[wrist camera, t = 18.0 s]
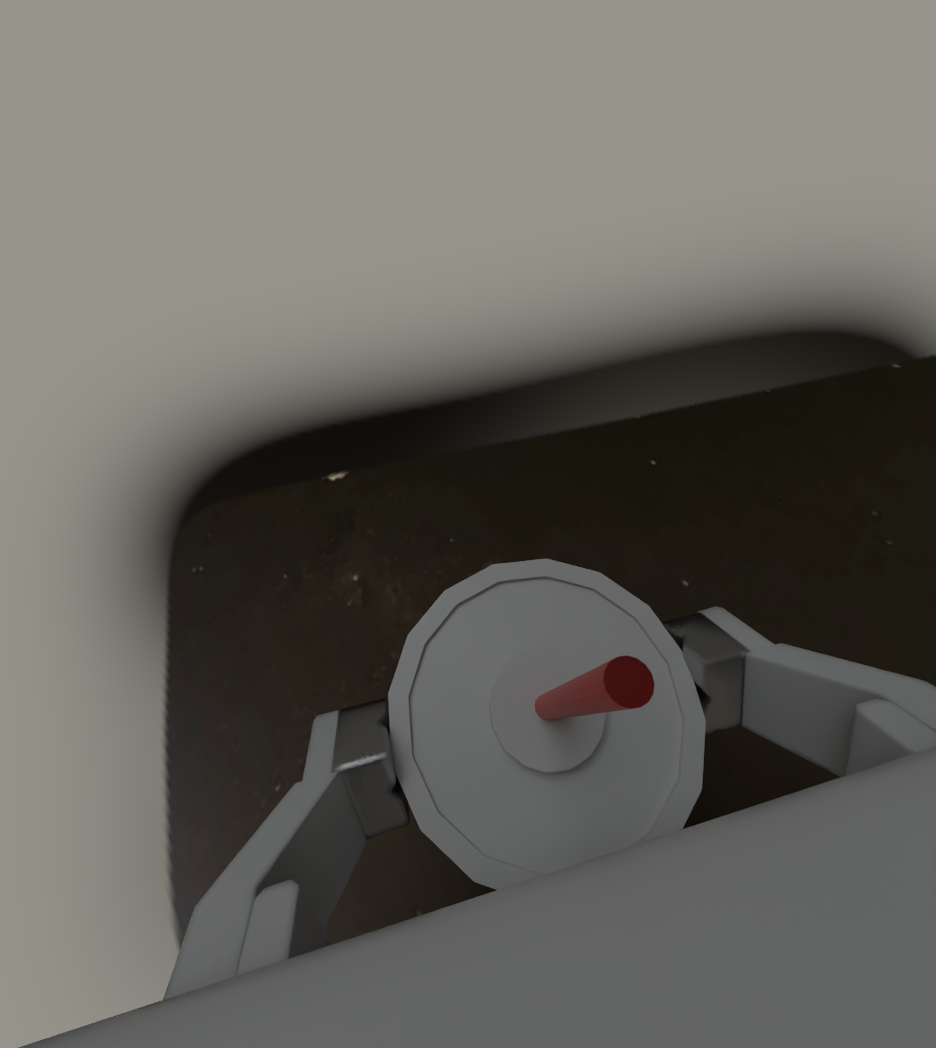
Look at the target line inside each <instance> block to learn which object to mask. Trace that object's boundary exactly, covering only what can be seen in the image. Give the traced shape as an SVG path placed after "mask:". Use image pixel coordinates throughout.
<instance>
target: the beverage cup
mask: <svg viewBox="0 0 936 1048" xmlns="http://www.w3.org/2000/svg"><path fill="white" fill-rule="evenodd" d="M388 702H389V725H390V740H391V745H392V751H393V757H394V762H395V772H396V775H397V777H398V780H399V782H400V784H401V786H402V789H403V791H404V793H405V796H406V798H407V800H408V802H409V805H410V807H411V809H412V812H413V814H414V816H415V818H416V821H417V823H418V825H419V828H420V830H421V831H422V832H423V833H424V834H425V835H426V836H427V837H428V838H429V839H430V840H431V841H433V842H434V843H435V844H436V845H437V846H438V847H439V848H440V849H441V850H442V851H443V852H444V853H445V854H446V855H447V856H448V857H449V858H450V859H451V860H452V861H453V862H454V863H455V864H456V865H457V866H458V867H459V868H460V869H462V870H463V871H464V872H465V873H466V874H467V875H468V876H469V877H470V878H471V879H472V880H473V881H474V882H476V883H479V884H482V885H485V886H488V887H491V888H493V889H496V890H499V889H503V888H506V887H509V886H512V885H515V884H518V883H521V882H524V881H527V880H530V879H533V878H536V877H539V876H542V875H545V874H548V873H551V872H554V871H557V870H561V869H564V868H567V867H570V866H573V865H576V864H579V863H582V862H585V861H588V860H591V859H594V858H597V857H600V856H603V855H606V854H609V853H612V852H615V851H618V850H621V849H624V848H627V847H630V846H633V845H637V844H640V843H643V842H646V841H649V840H652V839H655V838H658V837H661V836H664V835H667V834H670V833H673V832H676V831H679V830H682V829H683V827H684V825H685V823H686V821H687V819H688V817H689V815H690V813H691V811H692V809H693V807H694V805H695V803H696V801H697V799H698V797H699V795H700V793H701V791H702V778H703V761H704V744H705V727H706V719H705V716H704V713H703V710H702V706H701V703H700V700H699V697H698V693H697V690H696V687H695V684H694V681H693V678H692V676H691V674H690V672H689V669H688V667H687V665H686V662H685V660H684V658H683V652H682V650H681V649H680V648H679V646H678V645H677V644H676V642H675V641H674V640H673V638H672V637H671V635H670V634H669V633H668V631H667V630H666V629H665V627H664V626H663V625H662V623H661V622H660V621H659V619H658V618H657V616H656V615H655V614H654V612H653V611H652V610H651V608H650V607H649V606H648V605H647V604H645V603H644V602H642V601H641V600H639V599H638V598H636V597H635V596H634V595H632V594H631V593H629V592H628V591H626V590H625V589H623V588H622V587H620V586H619V585H618V584H616V583H615V582H613V581H612V580H610V579H609V578H607V577H606V576H604V575H603V574H601V573H600V572H596V571H592V570H588V569H584V568H581V567H577V566H573V565H569V564H565V563H561V562H557V561H554V560H550V559H538V560H530V561H521V562H512V563H503V564H494V565H491V566H489V567H487V568H486V569H484V570H482V571H480V572H478V573H476V574H475V575H473V576H471V577H469V578H467V579H465V580H463V581H462V582H460V583H458V584H456V585H454V586H452V587H450V588H449V589H447V590H445V591H444V592H443V593H442V594H441V596H440V597H439V598H438V599H437V600H436V602H435V603H434V604H433V605H432V606H431V608H430V609H429V610H428V611H427V612H426V614H425V615H424V616H423V617H422V618H421V620H420V621H419V622H418V623H417V624H416V626H415V627H414V628H413V629H412V631H411V632H410V633H409V634H408V636H407V639H406V642H405V645H404V648H403V651H402V654H401V657H400V660H399V663H398V666H397V669H396V672H395V675H394V678H393V681H392V684H391V687H390V690H389V693H388Z"/></svg>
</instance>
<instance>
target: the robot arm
mask: <svg viewBox="0 0 936 1048" xmlns="http://www.w3.org/2000/svg"><path fill="white" fill-rule="evenodd" d="M662 625H663V626H664V627H665V629H666V630H667V631H668V633H669V634H670V635H671V637H672V638H673V640H674V641H675V642H676V644H677V645H678V646H679V648H680V649H681V650H682V652H683V658H684V660H685V662H686V665H687V667H688V669H689V672H690V674H691V676H692V678H693V681H694V684H695V687H696V690H697V693H698V697H699V700H700V703H701V706H702V710H703V713H704V716H705V719H706V727H705V734H708V733H711V732H715V731H719V730H722V729H726V728H730V727H733V726H737V725H741V724H742V727H744V728H746V729H748V730H750V731H752V732H754V733H756V734H758V735H760V736H762V737H764V738H766V739H768V740H770V741H771V742H773V743H775V744H777V745H779V746H781V747H783V748H785V749H787V750H789V751H791V752H793V753H795V754H797V755H799V756H801V757H803V758H805V759H807V760H809V761H811V762H812V763H814V764H816V765H818V766H820V767H822V768H824V769H826V770H828V771H830V772H832V773H834V774H836V775H838V776H840V778H837V779H834V780H831V781H828V782H825V783H822V784H819V785H816V786H813V787H810V788H807V789H804V790H801V791H798V792H795V793H792V794H788V795H785V796H782V797H779V798H776V799H773V800H770V801H767V802H764V803H761V804H758V805H755V806H752V807H749V808H746V809H743V810H740V811H737V812H734V813H731V814H728V815H725V816H722V817H719V818H715V819H712V820H709V821H706V822H703V823H700V824H697V825H694V826H691V827H688V828H685V829H682V830H679V831H676V832H673V833H670V834H667V835H664V836H661V837H658V838H655V839H652V840H649V841H646V842H643V843H640V844H637V845H633V846H630V847H627V848H624V849H621V850H618V851H615V852H612V853H609V854H606V855H603V856H600V857H597V858H594V859H591V860H588V861H585V862H582V863H579V864H576V865H573V866H570V867H567V868H564V869H561V870H557V871H554V872H551V873H548V874H545V875H542V876H539V877H536V878H533V879H530V880H527V881H524V882H521V883H518V884H515V885H512V886H509V887H506V888H503V889H499V890H496V891H493V892H490V893H487V894H484V895H481V896H478V897H475V898H472V899H469V900H466V901H463V902H460V903H457V904H454V905H451V906H448V907H445V908H442V909H438V910H435V911H432V912H429V913H426V914H423V915H420V916H417V917H414V918H411V919H408V920H405V921H402V922H399V923H396V924H393V925H390V926H387V927H384V928H381V929H378V930H375V931H372V932H369V933H366V934H362V935H359V936H356V937H353V938H350V939H347V940H344V941H341V942H338V943H335V944H332V945H329V946H328V944H327V942H326V940H325V938H324V936H323V933H324V931H325V929H326V927H327V925H328V923H329V921H330V918H331V916H332V914H333V912H334V910H335V908H336V906H337V904H338V902H339V900H340V897H341V895H342V893H343V891H344V889H345V887H346V885H347V883H348V881H349V879H350V877H351V874H352V872H353V870H354V868H355V866H356V864H357V862H358V860H359V858H360V856H361V854H362V851H363V849H364V847H365V845H366V843H367V841H366V839H368V838H371V837H374V836H377V835H380V834H383V833H386V832H389V831H392V830H395V829H398V828H401V827H404V826H407V825H409V808H408V800H407V798H406V796H405V793H404V791H403V789H402V786H401V784H400V782H399V780H398V777H397V775H396V772H395V762H394V757H393V751H392V745H391V740H390V725H389V702H388V698H384V699H380V700H376V701H372V702H368V703H364V704H360V705H356V706H352V707H348V708H344V709H341V710H337V711H333V712H329V713H325V714H321V715H318V716H317V717H316V718H315V720H314V721H313V726H312V732H311V737H310V743H309V748H308V753H307V759H306V764H305V770H304V775H303V780H302V781H301V782H298V783H295V784H294V785H293V786H292V788H291V789H290V790H289V791H288V793H287V794H286V795H285V796H284V797H283V799H282V800H281V801H280V802H279V804H278V805H277V806H276V807H275V809H274V810H273V811H272V812H271V813H270V815H269V816H268V817H267V818H266V820H265V821H264V822H263V823H262V825H261V826H260V827H259V828H258V829H257V831H256V832H255V833H254V834H253V836H252V837H251V838H250V839H249V841H248V842H247V843H246V844H245V845H244V847H243V848H242V849H241V850H240V852H239V853H238V854H237V855H236V857H235V858H234V859H233V860H232V862H231V863H230V864H229V865H228V866H227V868H226V869H225V870H224V871H223V873H222V874H221V875H220V876H219V878H218V879H217V880H216V881H215V882H214V884H213V885H212V886H211V887H210V889H209V890H208V891H207V892H206V894H205V895H204V896H203V897H202V898H201V900H200V901H199V902H198V903H197V905H196V906H195V908H194V911H193V914H192V917H191V920H190V922H189V925H188V928H187V931H186V934H185V937H184V940H183V943H182V946H181V949H180V952H179V955H178V958H177V961H176V964H175V967H174V969H173V972H172V975H171V978H170V981H169V984H168V987H167V990H166V993H165V996H164V999H163V1000H162V1001H159V1002H156V1003H153V1004H150V1005H147V1006H144V1007H141V1008H138V1009H135V1010H132V1011H129V1012H126V1013H123V1014H120V1015H117V1016H114V1017H111V1018H107V1019H104V1020H101V1021H98V1022H95V1023H92V1024H89V1025H86V1026H83V1027H80V1028H77V1029H74V1030H71V1031H68V1032H65V1033H62V1034H59V1035H56V1036H53V1037H50V1038H47V1039H44V1040H41V1041H38V1042H35V1043H31V1044H28V1045H25V1046H22V1047H19V1048H936V687H934V686H933V685H931V684H929V683H928V682H926V681H923V680H919V679H915V678H911V677H908V676H904V675H900V674H896V673H892V672H889V671H885V670H881V669H877V668H873V667H870V666H866V665H862V664H858V663H854V662H851V661H847V660H843V659H839V658H836V657H832V656H828V655H824V654H820V653H817V652H813V651H809V650H805V649H801V648H798V647H794V646H790V645H786V644H782V643H780V644H777V645H774V644H773V643H771V642H770V641H769V640H767V639H766V638H764V637H763V636H761V635H760V634H759V633H757V632H756V631H754V630H753V629H752V628H750V627H749V626H747V625H746V624H745V623H743V622H742V621H740V620H739V619H738V618H736V617H735V616H733V615H732V614H731V613H729V612H728V611H726V610H725V609H723V608H721V607H717V606H715V607H712V608H709V609H705V610H702V611H699V612H696V613H694V614H690V615H687V616H683V617H680V618H676V619H672V620H669V621H665V622H662Z"/></svg>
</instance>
